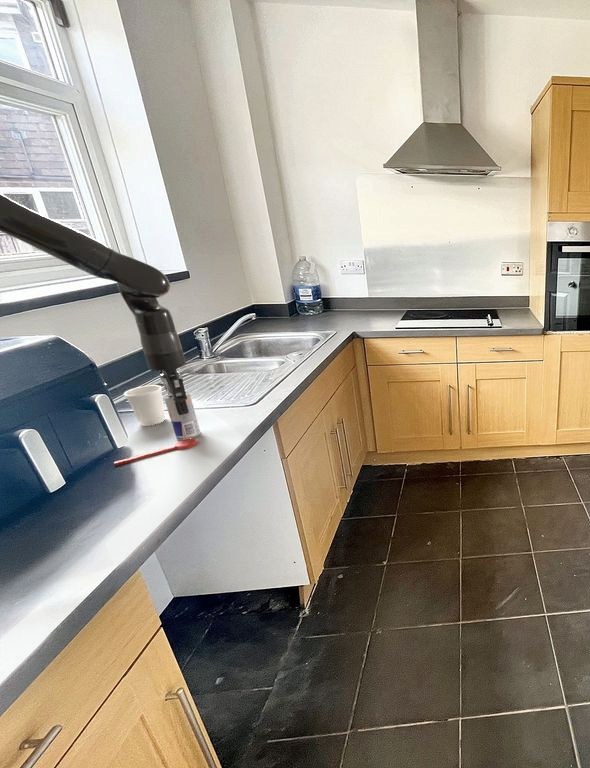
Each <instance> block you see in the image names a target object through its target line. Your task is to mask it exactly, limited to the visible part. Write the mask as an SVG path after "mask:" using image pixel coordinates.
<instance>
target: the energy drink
mask: <svg viewBox="0 0 590 768" xmlns="http://www.w3.org/2000/svg"><path fill="white" fill-rule="evenodd" d="M185 393H186V396H187V399H186V404H187V407H188V411H189V412H188V413H187V414H183V415H179V414H178V412H177V409H176V406H175V402H174V401H173V397H172V395H171V394H168V393H167V394H166V395H165V396H164V403H165V406H166V409H167V412H168V416H169V419H170V422H171V426H172V430H173V432H174V436H175V438H176V439H177V440H179V439H180V440H179V441H181V440H184V439H190V438H191V439H194V438H196V437H198V436H199V435H200V434H201V429H200V425H199V422H198V418H197V414H196V411H195V408H194V404H193V401H192V396H191V394H190V393H189V392H188V391H185ZM177 396H182V394H181V393H177V394H176V397H177ZM193 437H194V438H193Z"/></svg>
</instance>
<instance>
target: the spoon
mask: <svg viewBox="0 0 590 768" xmlns="http://www.w3.org/2000/svg"><path fill="white" fill-rule="evenodd" d="M197 444H198V442H197V439H196V438H191V439H184V440H179V441H177V442H175V444H174V445H171V446H166V447H163V448H159V449H156V450H152V451H149V452H145V453H142V454H137V455H135V456H131V457H127V458H124V459H121V460H117V461H114V462H113V465H114V467H118V466H121V465H124V464H128V463H132V462H136V461H139V460H142V459H147V458H150V457H153V456H156V455H160V454H163V453H169V452H171V451H174V450H186V449H190V448H193V447H195V446H196V445H197Z"/></svg>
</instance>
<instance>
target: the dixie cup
mask: <svg viewBox="0 0 590 768" xmlns="http://www.w3.org/2000/svg"><path fill="white" fill-rule="evenodd" d="M162 390H163V387H162V386H161V385H156V384H153V385H151V384H150V385H143V386H138V387H134V388H130V389H128V390H126V391H125V392H124V393H123V396H124V397H125V398H126V400H127V402H128V403H129V405H130V407H131V409H132V411H133V413H134V415H135V417H136V418H137V420H138V422H139V424H140V426H141V427H151V425H152V426H156V425H159V424H162V423H164V422H165V421H166V420H165V419H166V412H165V405H164V398H163V392H162ZM164 420H165V421H164ZM163 421H164V422H163ZM161 422H162V423H161ZM158 423H159V424H158ZM155 424H156V425H155Z"/></svg>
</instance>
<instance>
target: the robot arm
mask: <svg viewBox="0 0 590 768" xmlns="http://www.w3.org/2000/svg"><path fill="white" fill-rule="evenodd" d="M0 232H1V233H4V234H6V235H8V236H11V237H12V238H15V239H16V240H19V241H21V242H23V243H26V244H27V245H29V246H31V247H33V248H35V249H37V250H40V251H42V252H44V253H45V254H47V255H50V256H52V257H54V258H56V259H57V260H60V261H61V262H64V263H66V264H68V265H70V266H72V267H74V268H76V269H79V270H80V271H82V272H85V273H87V274H89V275H92V276H94V277H96V278H99V279H103V280H109V281H113V282H115V283H116V284H117V285H116V286H117V288H118V291H119V293H120V295H121V297H122V299H123V300H124V302H125V304H126V306H127V307H128V309H129V311H130V312H131V314H132V315H133V317H134V319H135V323H136V327H137V331H138V334H139V337H140V344H141V347H142V350H143V355H144V357H145V361H146V363H147V367H148V369H149V370H150V371H153V372H159V378H160V380H161V382H162V385H163V388H164V390H165V391H166V393H167V395H168V394H171V395H172V397H173V401H174V402H175V406H176V409H177V412H178V414H179V415H183V414H187V413H188V412H189V411H188V407H187V404H186V399H187V396H186V393H185V392H186V387H185V385H184V380H183V379H184V378H183V375H182V373H180V371H178V369H179V368H183V367H184V366H186V365H187V361H186V358H185V354H184V351H183V350H184V349H183V347H182V343H181V340H180V337H179V334H178V332H177V329H176V326H175V322H174V319H173V316H172V312H171V311H170V310H169V309H168V308H167V307H165V306H163V305H161V304H160V302H159V300H158V298H162V297H164V296H166V295H167V294H168V293H169V291H170V288H171V283H170V280H169V279H168V277H167V276H166V274H164V273H163V272H162V271H161V270H159V269H158V268H156V267H154V266H152V265H150V264H148V263H146V262H144V261H141V260H139V259H136V258H133V257H130V256H128V255H126V254H122V253H121V252H119V251H117V250H115V249H113V248H111V247H109V246H108V245H106V244H104V243H102V242H100V241H99V240H97V239H95V238H93V237H91V236H89V235H87V234H85V233H83V232H81V231H79V230H76V229H75V228H72V227H70V226H68V225H65V224H63V223H61V222H59V221H56V220H54V219H52V218H49V217H47V216H45V215H42V214H40V213H38V212H36V211H34V210H32V209H29V208H27V207H26V206H24V205H21V204H19V203H18V202H16V201H15V200H12V199H11V198H8V196H5V195H3V194H2V193H0ZM177 393H181V394H182V396H177V397H176V394H177Z"/></svg>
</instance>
